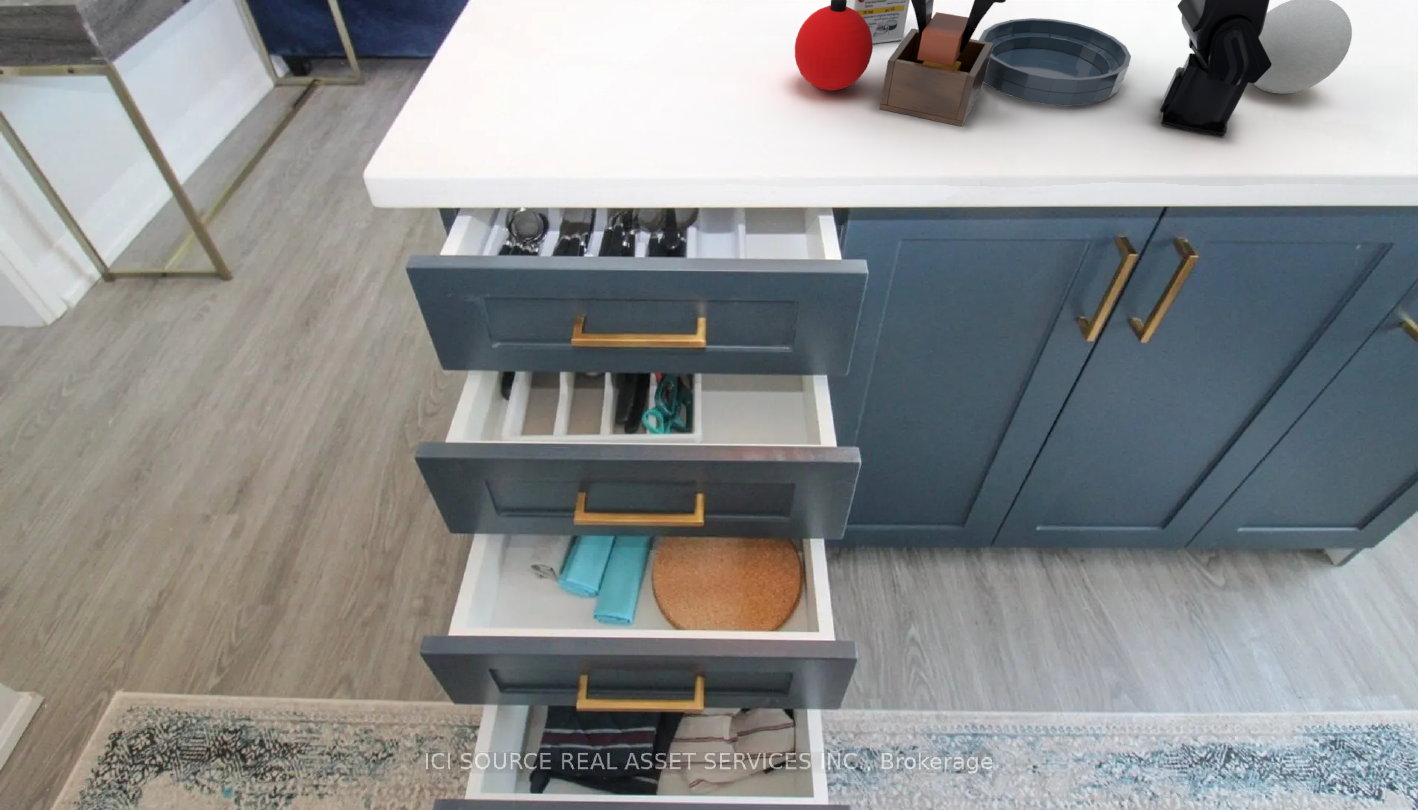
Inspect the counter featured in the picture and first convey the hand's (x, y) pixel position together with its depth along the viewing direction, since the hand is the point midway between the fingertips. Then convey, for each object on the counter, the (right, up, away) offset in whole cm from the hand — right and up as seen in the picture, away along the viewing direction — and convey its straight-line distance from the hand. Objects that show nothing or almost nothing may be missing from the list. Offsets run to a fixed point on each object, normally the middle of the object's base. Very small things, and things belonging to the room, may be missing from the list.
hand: (942, 48), depth 84 cm
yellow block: (0, -4, +4) cm, 5 cm away
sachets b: (0, 0, 0) cm, 0 cm away
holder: (0, -4, +4) cm, 6 cm away
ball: (+41, -2, +6) cm, 42 cm away
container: (-5, +10, +17) cm, 21 cm away
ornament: (-12, -2, +7) cm, 14 cm away
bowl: (+15, +1, +8) cm, 17 cm away
